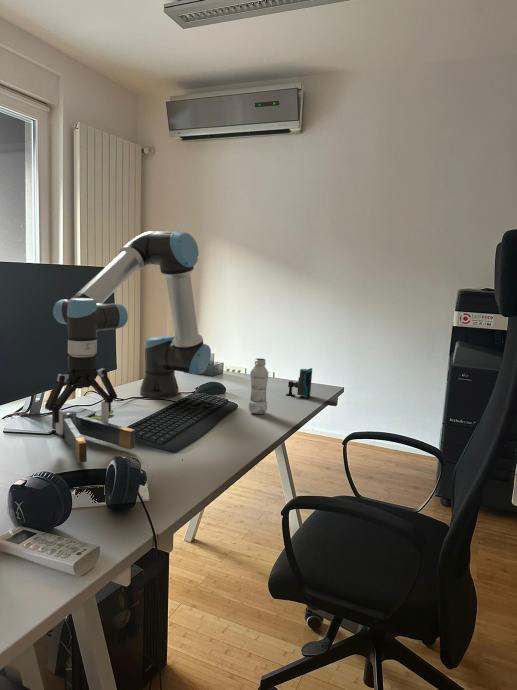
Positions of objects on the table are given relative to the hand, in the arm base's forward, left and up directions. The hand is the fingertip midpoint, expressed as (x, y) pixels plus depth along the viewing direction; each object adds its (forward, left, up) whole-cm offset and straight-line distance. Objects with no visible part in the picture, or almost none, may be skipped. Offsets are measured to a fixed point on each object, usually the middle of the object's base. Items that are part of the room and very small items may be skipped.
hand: (82, 428), depth 134 cm
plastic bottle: (+11, +61, -5) cm, 62 cm away
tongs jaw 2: (+4, +5, -4) cm, 7 cm away
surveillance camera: (+6, +91, -5) cm, 92 cm away
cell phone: (+31, -10, -6) cm, 33 cm away
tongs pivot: (-12, 0, -5) cm, 13 cm away
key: (-16, +14, -6) cm, 23 cm away
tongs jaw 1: (+4, -4, -4) cm, 7 cm away
